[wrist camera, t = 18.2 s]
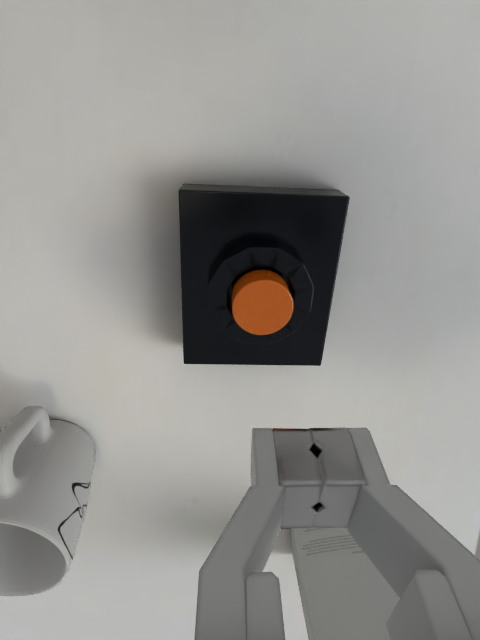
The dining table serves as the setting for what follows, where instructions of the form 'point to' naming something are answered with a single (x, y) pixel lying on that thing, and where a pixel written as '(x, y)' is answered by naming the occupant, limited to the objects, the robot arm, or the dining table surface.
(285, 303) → the button
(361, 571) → the cosmetic box
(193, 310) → the block
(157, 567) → the dining table surface
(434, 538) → the robot arm
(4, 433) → the mug
